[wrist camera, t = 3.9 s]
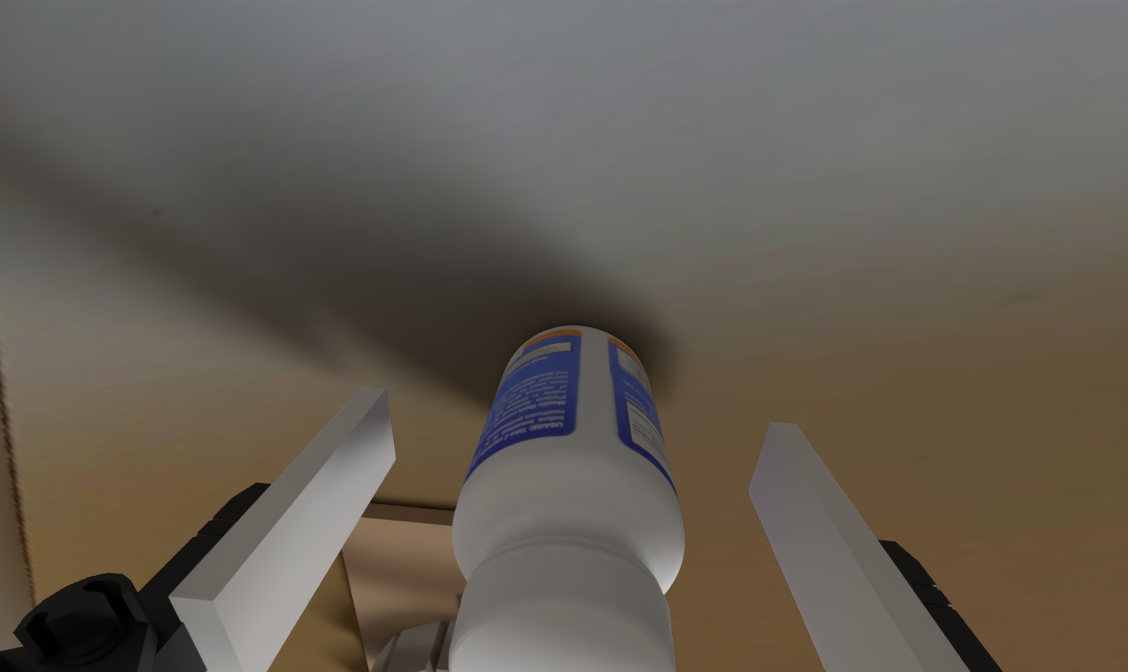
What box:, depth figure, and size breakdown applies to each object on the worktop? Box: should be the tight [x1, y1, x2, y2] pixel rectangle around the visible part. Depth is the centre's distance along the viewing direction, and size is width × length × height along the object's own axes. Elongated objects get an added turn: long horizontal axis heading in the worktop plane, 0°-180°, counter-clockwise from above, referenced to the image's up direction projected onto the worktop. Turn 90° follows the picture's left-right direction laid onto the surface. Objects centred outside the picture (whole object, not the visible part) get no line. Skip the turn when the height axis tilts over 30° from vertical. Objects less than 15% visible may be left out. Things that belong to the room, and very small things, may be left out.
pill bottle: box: [449, 325, 685, 672], centre depth 12 cm, size 5×5×10 cm
